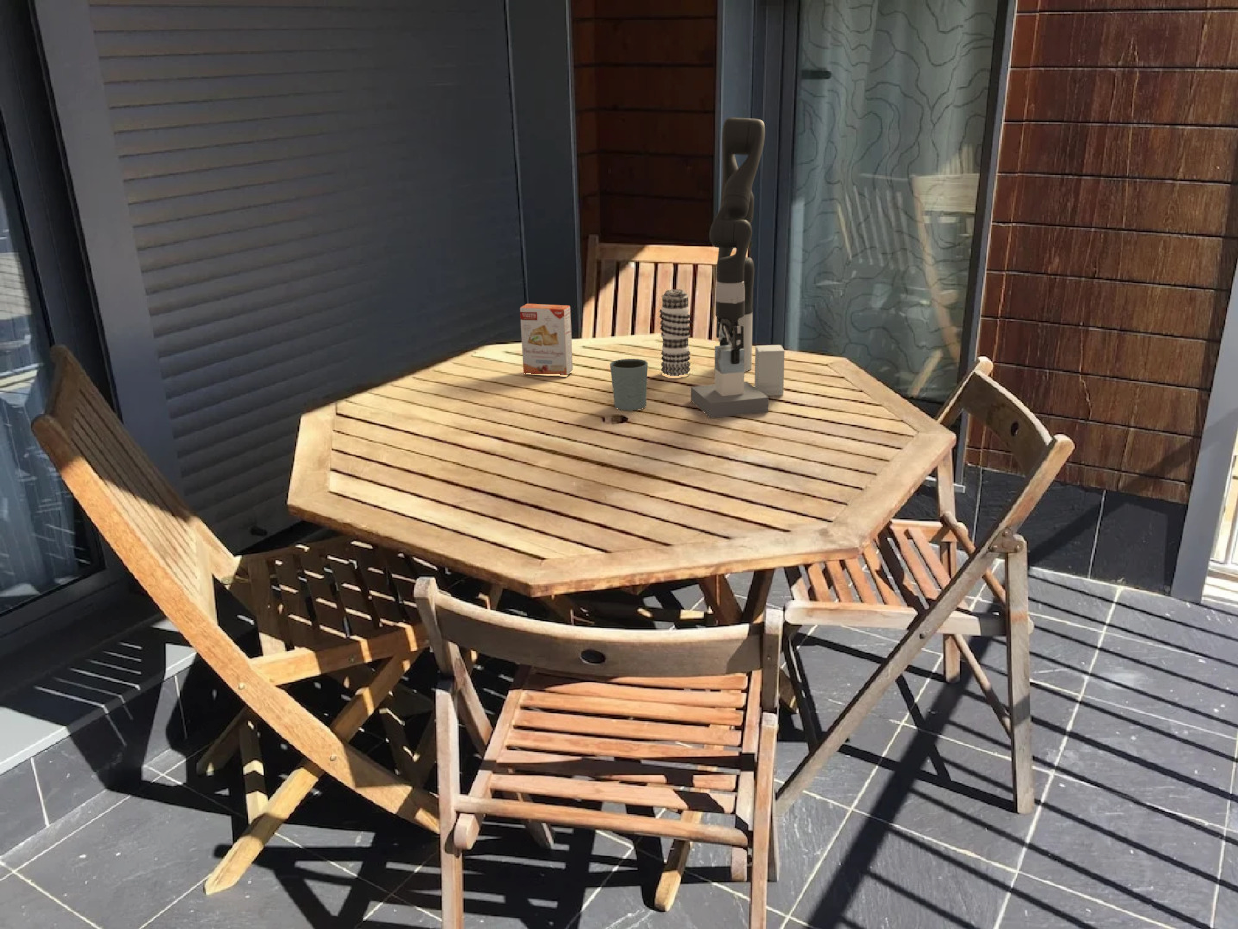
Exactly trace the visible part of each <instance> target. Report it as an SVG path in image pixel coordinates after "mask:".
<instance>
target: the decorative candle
mask: <svg viewBox="0 0 1238 929" xmlns="http://www.w3.org/2000/svg"><path fill="white" fill-rule="evenodd" d="M661 298H662V300H661V302H662V304H661V305H662V306H661V309H659V311H658V312H659V313H660V314H659V318H660V322H659V325H660V328H659V329H660V331H661V333H660V337H661V338H662V345H661V346H662V347H661V349H662V350H661V352H660V353H661V354H660V355H661V358H660V359H661V360H662V361H661V363H660V365H661V369H660V371H661V372H663V373H664V374H667V375H670V376H679V375H684V374H689V373H688V372H690V371H691V368H690V367H691V362H690V359H691V356H690V354H691V351H690V345H689V338H690V336H691V332H689V331H690V330H691V327H690V326H689V325H690V324H691V322H692V321H691V320H690V318H692V315H691V314H689V311H690V306H689V298H690V294H688V293H687V292H686V290H684V289H679V288H675V289H668V290H666V291H665V292H664V294H663V295H661Z"/></svg>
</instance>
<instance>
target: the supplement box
mask: <svg viewBox="0 0 1238 929" xmlns="http://www.w3.org/2000/svg"><path fill="white" fill-rule="evenodd" d="M754 348H755V352H754V387H755V388H756V389H758V390H759V391H761V392H762V393H763V394H765V395H766V396H767V397H769V396H770V397H771V396H773V397H774V396H783V395H784V386H785V385H784V383H785V382H784V380H785V379H784V378H785V352H786V351H785V349H784V348H783V346H782V344H770V345H769V344H766V345H762V344H761V345H755V347H754Z"/></svg>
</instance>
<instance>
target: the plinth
mask: <svg viewBox="0 0 1238 929" xmlns="http://www.w3.org/2000/svg"><path fill="white" fill-rule="evenodd" d="M769 398H770V397H769V396H766V395H765V394H763V393H762V392H761V391H759V390H758V389H756V388H755V385H753V384H751V383H750V382H748V381H744V394H738V395H728V396H722V395H720V394H719V393H718V392H717V391H715V384H709V385H705V384H704V385H695V386H690V401H691V400H692V401H693V402H694V403H693V402H692V401H691V402H692V403H693V404H694V405H695V406H696V405H697V406H698V407H699V408H700V409H699V408H698V407H697V406H696V407H697V408H698V409H699V410H701V411H702V412H703V411H704V412H705V413H704V412H703V413H704V415H706V414H707V415H706V416H707V417H708V416H709V418H710V419H712V418H711V417H716V418H725V417H733V416H742V415H743V416H744V415H750V414H752V415H753V414H754V415H755V414H761V413H768V412H769V404H770V403H769Z"/></svg>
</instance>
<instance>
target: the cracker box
mask: <svg viewBox="0 0 1238 929" xmlns="http://www.w3.org/2000/svg"><path fill="white" fill-rule="evenodd" d="M519 310H520V311H519V312H520V313H519V316H520V332H521V333H520V335H521V352H522V354H521V355H522V368H523V374H524V373H525V374H526V373H531V374H560V375H567V374H569V373H570V372H571V371H572V370H573V369H574V368H573V366H574V365H573V344H572V342H573V341H572V321H571V320H572V319H571V318H572V317H571V316H572V315H571V306H570V305H566V304H565V305H562V304H561V305H560V304H543V303H542V304H540V303H539V304H537V303H526V304H524V305H522V306H520V308H519Z"/></svg>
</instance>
